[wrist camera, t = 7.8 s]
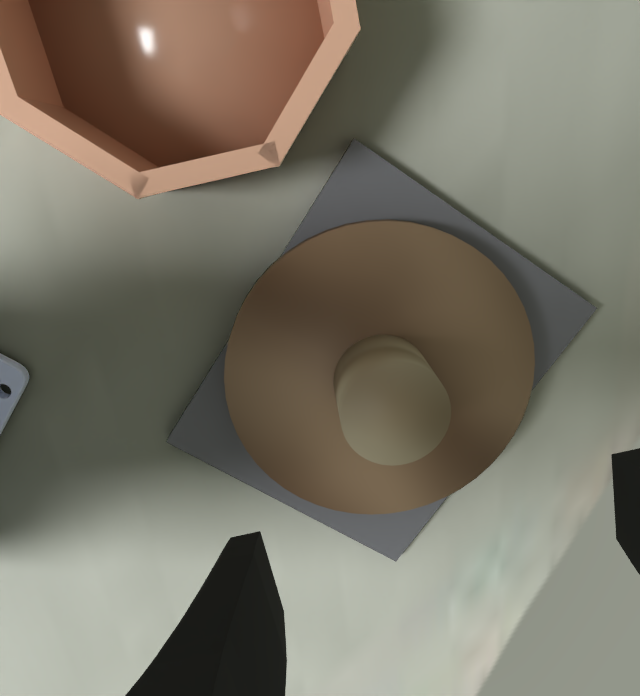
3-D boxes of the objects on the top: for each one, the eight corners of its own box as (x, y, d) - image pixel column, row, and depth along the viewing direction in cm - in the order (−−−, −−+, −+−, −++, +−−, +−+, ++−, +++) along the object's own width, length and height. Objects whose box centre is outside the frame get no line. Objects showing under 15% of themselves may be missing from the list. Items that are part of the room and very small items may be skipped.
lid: (414, 544, 22) (437, 614, 19) (172, 420, 20) (148, 474, 17) (586, 322, 20) (648, 357, 16) (330, 154, 18) (341, 153, 14)
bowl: (238, 237, 19) (227, 254, 15) (-33, 69, 17) (-113, 46, 13) (398, -32, 16) (426, -80, 13) (108, -261, 15) (55, -385, 11)
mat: (394, 554, 23) (395, 561, 22) (168, 436, 21) (166, 441, 20) (591, 305, 20) (597, 308, 20) (353, 139, 18) (354, 138, 17)
